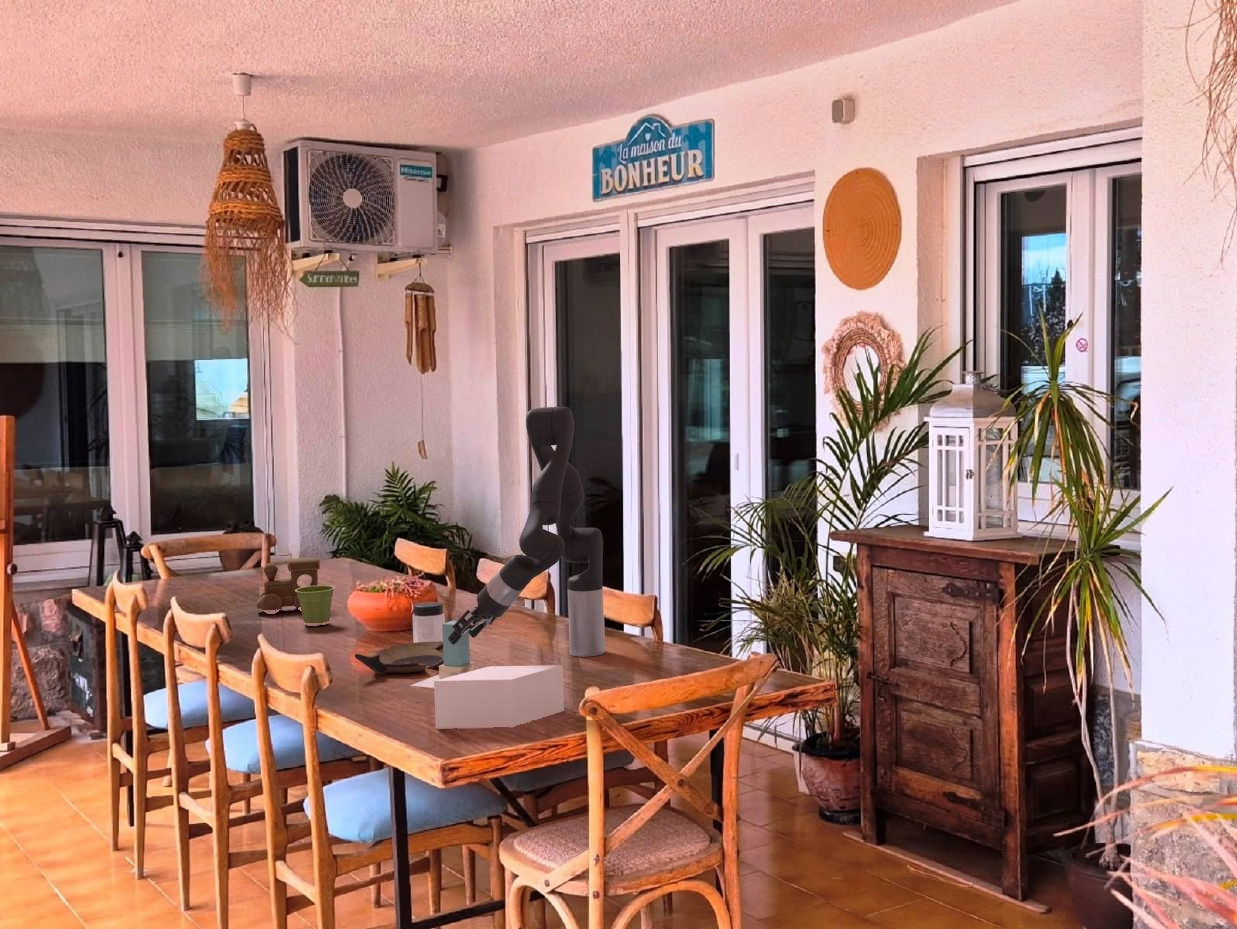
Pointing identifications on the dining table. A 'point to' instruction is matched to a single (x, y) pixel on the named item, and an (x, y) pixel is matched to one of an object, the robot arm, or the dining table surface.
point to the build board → (427, 682)
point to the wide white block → (498, 696)
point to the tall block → (455, 647)
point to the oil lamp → (405, 658)
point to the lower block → (454, 670)
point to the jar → (428, 622)
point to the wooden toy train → (286, 583)
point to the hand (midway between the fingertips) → (461, 638)
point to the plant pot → (315, 603)
